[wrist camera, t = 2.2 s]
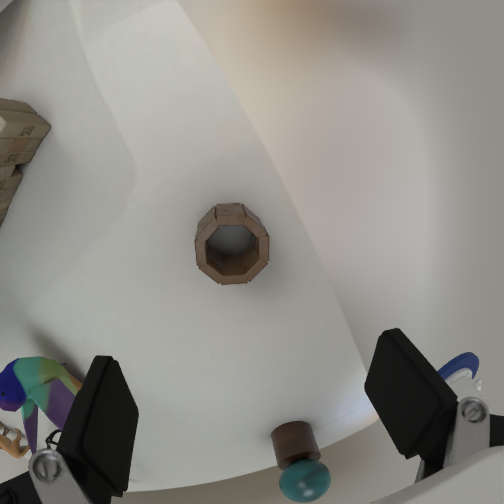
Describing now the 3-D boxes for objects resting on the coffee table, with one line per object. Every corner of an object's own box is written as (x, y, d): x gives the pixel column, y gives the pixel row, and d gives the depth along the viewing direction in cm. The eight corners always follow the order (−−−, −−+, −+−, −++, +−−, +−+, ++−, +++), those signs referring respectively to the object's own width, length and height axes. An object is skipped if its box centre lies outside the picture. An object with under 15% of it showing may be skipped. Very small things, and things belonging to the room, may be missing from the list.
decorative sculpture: (47, 269, 25) (-35, 352, 11) (147, 386, 31) (129, 488, 17) (-10, 323, 26) (-63, 389, 12) (72, 412, 32) (47, 486, 18)
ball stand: (315, 415, 37) (342, 486, 25) (310, 438, 40) (331, 501, 27) (269, 423, 36) (286, 498, 24) (268, 445, 39) (282, 512, 27)
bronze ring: (259, 201, 25) (269, 213, 21) (260, 260, 27) (269, 281, 23) (196, 205, 25) (192, 217, 20) (201, 264, 26) (199, 286, 22)
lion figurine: (-1, 430, 34) (-12, 455, 26) (-12, 415, 33) (-25, 441, 24) (40, 444, 36) (30, 474, 28) (28, 430, 34) (16, 461, 26)
